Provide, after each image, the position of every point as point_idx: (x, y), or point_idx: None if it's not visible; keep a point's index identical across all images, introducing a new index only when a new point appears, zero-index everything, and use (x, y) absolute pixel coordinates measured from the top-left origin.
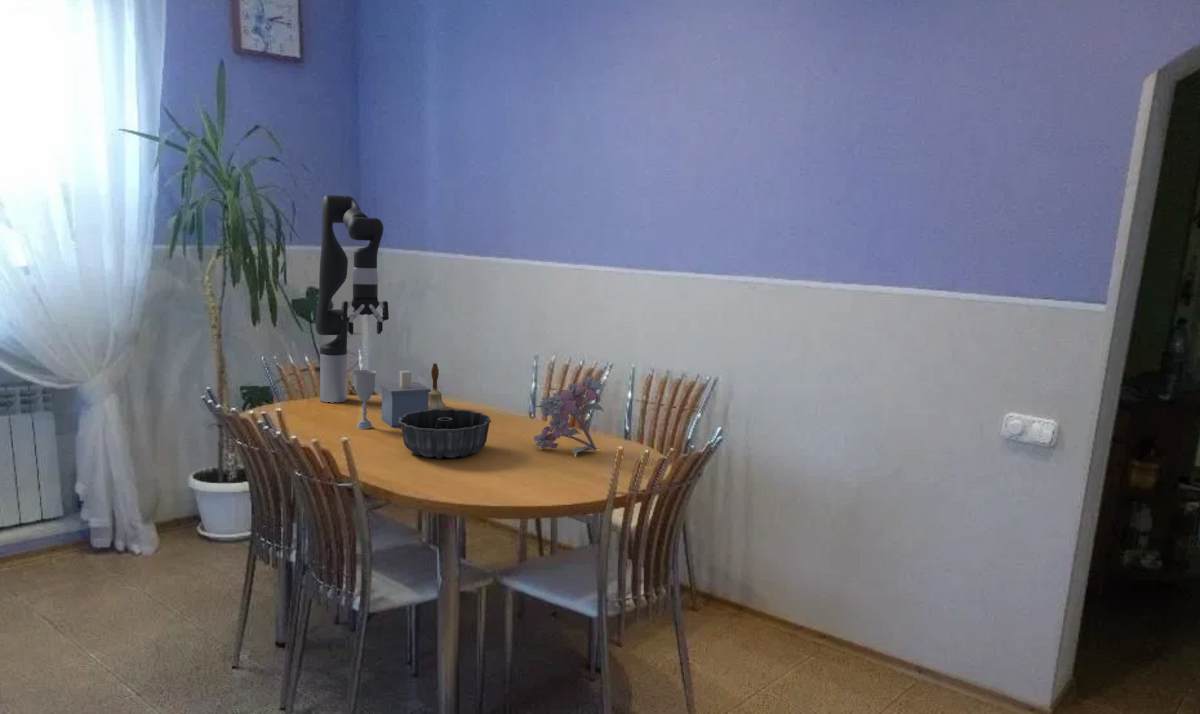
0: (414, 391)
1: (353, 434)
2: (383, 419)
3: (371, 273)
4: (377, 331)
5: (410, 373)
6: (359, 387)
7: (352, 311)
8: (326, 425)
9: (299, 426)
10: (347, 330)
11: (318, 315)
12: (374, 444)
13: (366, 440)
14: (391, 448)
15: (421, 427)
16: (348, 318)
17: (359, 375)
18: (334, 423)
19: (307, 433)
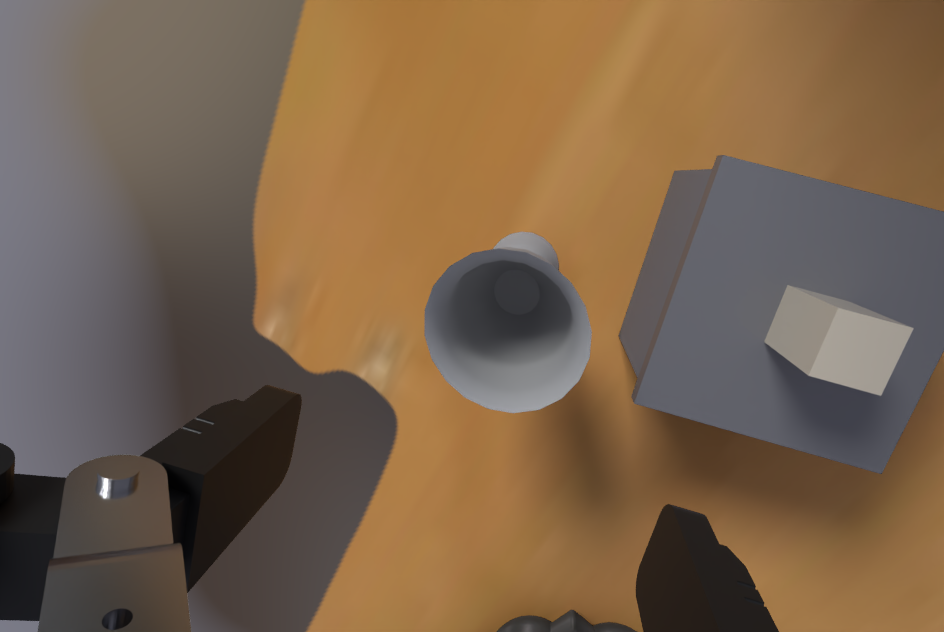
0: (773, 440)
1: (427, 347)
2: (665, 202)
3: None
4: (658, 555)
5: (868, 391)
6: (462, 333)
7: (41, 622)
8: (404, 140)
9: (299, 93)
10: (210, 409)
11: None
12: (421, 511)
13: (424, 451)
14: (443, 583)
15: (572, 630)
16: (35, 607)
17: (446, 360)
18: (451, 122)
19: (283, 232)
